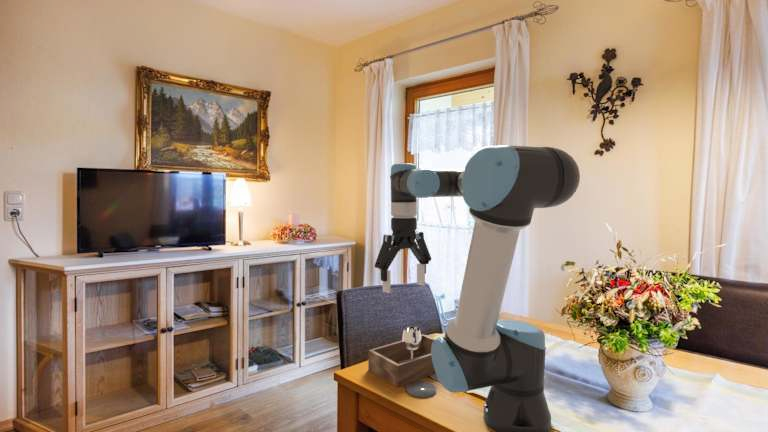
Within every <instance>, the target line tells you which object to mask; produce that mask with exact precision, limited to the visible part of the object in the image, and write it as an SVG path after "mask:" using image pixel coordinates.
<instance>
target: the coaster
mask: <svg viewBox="0 0 768 432" xmlns="http://www.w3.org/2000/svg"><path fill="white" fill-rule="evenodd" d="M405 391H406V393H407V394H409V396H412V397H416V398H430V397H432V396H435V395H436V392H437V386H436V385H434V384H433V383H431V382H428V381H425V380H424V381H423V380H421V381H420V380H417V381H414V382H411V383H409V384H406V389H405Z"/></svg>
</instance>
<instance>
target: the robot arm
mask: <svg viewBox="0 0 768 432" xmlns="http://www.w3.org/2000/svg"><path fill="white" fill-rule="evenodd" d="M390 168H391V169H390V175H389V178H390V216H392V217H391V219H390V229H391V231H392V233H391V234H383V236H382V237H383V239H382V243H381V247H380V249H379V252H378V255H377V257H376V260H375V263H374V268H376V269H379V270H380V281H382V293H387V294H391V292H392V291H391V287H392V286H391V285H392V284H391V269H389V268H390V266H391V265H392V263H393V261H394V260H395V258H396V257H397V255H398V253H399V252H400V251H401V250H405V249H409V250H410V251H411V253H412V254H413V256H414V257H415V258H416V259H417V262H418V263H416V285H418V286H421V287H422V286H423V287H425V286H426V273H427V265H428V264H429V262H431V261H432V256H431V254H430V252H429V249H428V247H427V244H426V241H425V236H424V232H423V231H416V230H417V229H418V227H417V226H418V222H417V221H418V219H417V217H416V216H417V214H418V213H417V212H418V210H417V209H418V207H417V206H418V205H417V203H418V202H417V201H418V200H417V198H418V199H422V198H424V199H425V198H440V197H441V198H442V197H443V198H445V197H457V198H458V197H460V198H461V197H462V199H463V200H464V203H465V204H466V205H467V206H468V207H469V211H468V212H469V214H470V216H471V217H472V218H473V219H474V224H473V230H472V234H471V240H470V245H469V249H468V254H467V259H466V264H465V268H464V275H463V279H462V283H461V284H462V285H461V289H460V294H459V300H458V304H457V309H456V314H455V318H453V319H450V321H449V322H448V323H447V325H446V328H445V331H444V336H443V337H441V336H439V337H437V338H434V339H435V340H434V341H433V343H432V346H431V356H432V362H433V366H434V369H435V372H436V373H435V375H436V377H437V379H438V381H439V383H440V385H442V387H443V388H444V389H445V390H447V392H449V393H453V394H454V393H455V394H456V393H467V392H470V391H475V390H478V389H479V390H480V389H483V388H488V387H490V388H489V391H488V394H487V396H486V399H485V403H484V405H483V419H484V422H485V423H486V424H487V425H488V427H489V428H491V429H492V430H494V431H496V432H550V430H551V427H552V415H551V412H550V409H549V405H548V401H547V399H546V395H545V388H544V387H545V370H546V369H545V366H546V363H545V362H546V351H547V347H546V336H545V333H544V332H543V331H542V329H541V328H540V327H538V326H536V325H533V324H530V323H528V322H524V321H520V320H516V319H515V320H514V319H508V318H507V319H505V318H504V319H502V318H501V319H499V318H500V314H501V313H500V312H501V309H502V305H503V300H504V296H505V292H506V289H507V285H508V282H509V281H508V280H509V278H510V277H509V276H510V272H511V269H512V265H513V260H514V255H515V252H516V247H517V243H518V240H519V235H520V231H521V230H523V229H525V228H527V227H529V225H530V224H531V222H532V218H533V215H534V210H535V209H544V208H545V209H547V208H553V207H557V206H559V205H562V204H564V203H566V202H567V201H569V200H570V199H571V198H572V197H573V196H574V194H575V193H576V191H577V189H578V188H579V184H580V178H581V175H580V169H579V166H578V163H577V161H576V160H575V159H574V157H572V156H571V155H570V154H569V153H568V152H566V151H564V150H562V149H560V148H557V147H551V146H527V145H526V146H525V145H522V146H521V145H508V144H499V145H487V146H484V147H481V148H480V149H478V150H477V151H476V152H475V153H473V154H472V155H471V156H470V158H469V159H468V161H467V163H466V165H465V167H464V168H461V169H429V168H417V166H416V164H414V163H394V164H392V165H391V167H390Z"/></svg>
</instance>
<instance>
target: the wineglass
mask: <svg viewBox="0 0 768 432" xmlns="http://www.w3.org/2000/svg"><path fill="white" fill-rule="evenodd" d="M421 333H422V332H421V329H420V328H419V327H418V326H407V327H405V328H404V329H403V332H402V338H401V341H402V343H403V346H404V347H405V348H406V349H407V350H411V352H410V355H411V358H410V360H412V359H414V358H413V350H417V349H418V348H419V347H420V346H421V335H422V334H421Z"/></svg>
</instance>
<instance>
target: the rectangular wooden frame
mask: <svg viewBox="0 0 768 432" xmlns="http://www.w3.org/2000/svg"><path fill="white" fill-rule="evenodd" d="M435 339H436V338H433V337H431V336H428V335H426V334H424V333H422V334H421V346H420V347H419V348H418V349H417V350H413V357H415V358H413V359H412V360H411V355H410V352H411V350H407V349H406V348H405V347H404V346H403V343H402V340H399V341H395V342H392V343H389V344H385V345H381V346H378V347H375V348H371V349H369V350H368V349H367V350H368V353H367V355H368V365H367V366H368V371H370V372H372V373H373V374H375V375H376V376H378V377H380V378H382V379H383V380H384V381H387V382H388V383H390V384H391V385H393V386H395V387H397V388H400V387H403V386H407V385H408V384H410V383H412V382H416V381H420V380H423V379H424V378H427V377H429V376H432V375H436V372H435V369H434V366H433V362H432V356H431V346H432V343H433V341H434V340H435ZM420 355H422V356H420ZM416 356H419V357H416ZM408 359H409V360H408ZM405 360H407V361H405ZM401 361H403V362H401ZM398 362H401V363H398Z"/></svg>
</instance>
